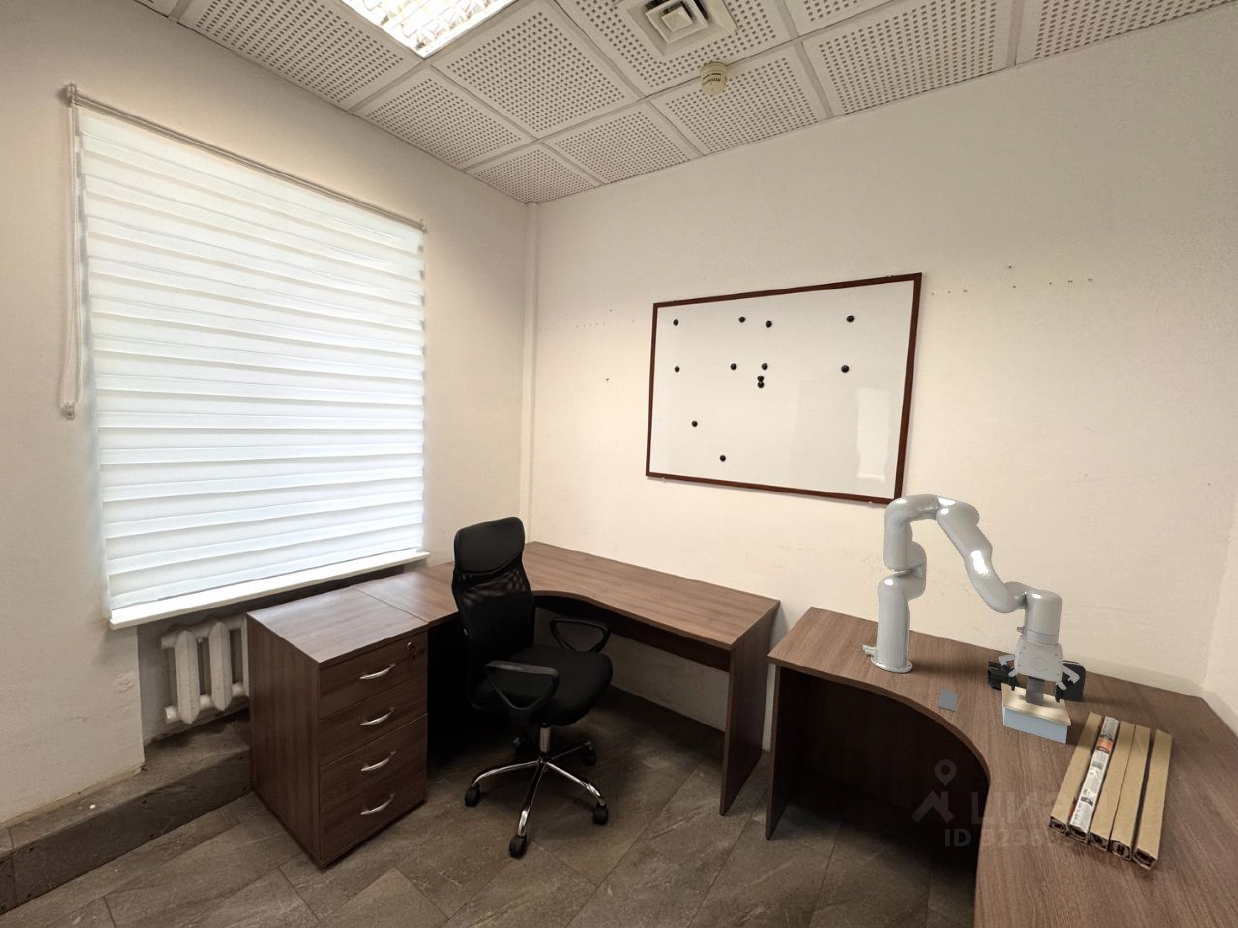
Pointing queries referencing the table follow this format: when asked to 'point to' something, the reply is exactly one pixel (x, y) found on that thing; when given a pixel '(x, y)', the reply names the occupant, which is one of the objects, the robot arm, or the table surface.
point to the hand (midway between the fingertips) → (1034, 694)
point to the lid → (1035, 701)
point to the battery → (1077, 689)
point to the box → (1034, 725)
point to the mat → (947, 700)
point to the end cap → (999, 675)
